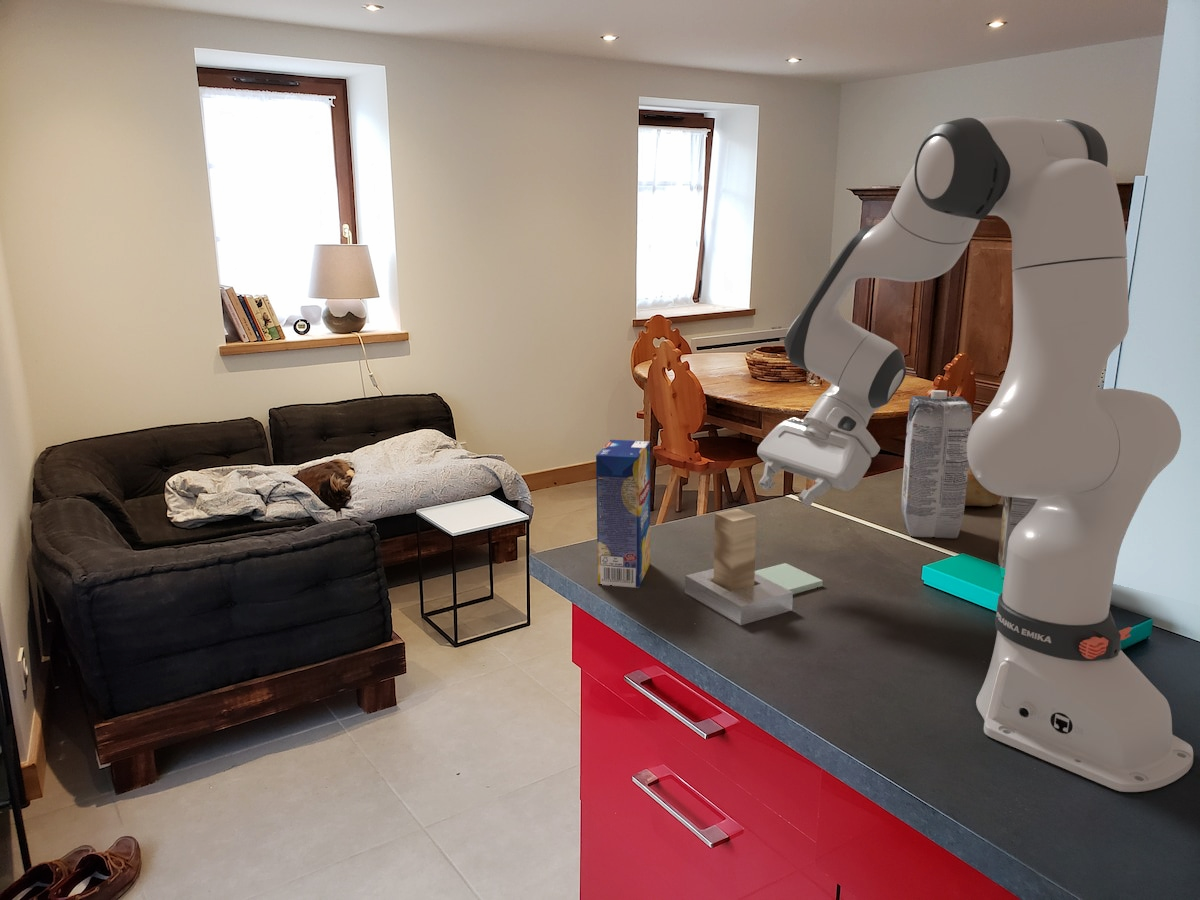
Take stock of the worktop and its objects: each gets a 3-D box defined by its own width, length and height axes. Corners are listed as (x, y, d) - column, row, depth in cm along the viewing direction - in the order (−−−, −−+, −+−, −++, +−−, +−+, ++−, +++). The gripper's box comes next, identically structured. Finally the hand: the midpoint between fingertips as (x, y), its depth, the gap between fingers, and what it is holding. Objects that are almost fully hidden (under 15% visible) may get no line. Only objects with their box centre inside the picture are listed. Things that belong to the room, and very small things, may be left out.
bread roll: (1005, 514, 179) (1009, 476, 177) (927, 511, 182) (930, 473, 180) (994, 500, 188) (998, 463, 186) (920, 497, 191) (923, 461, 189)
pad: (822, 586, 145) (822, 580, 145) (780, 598, 141) (780, 592, 140) (785, 568, 152) (785, 563, 152) (743, 579, 148) (743, 573, 148)
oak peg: (753, 601, 140) (756, 516, 136) (730, 607, 137) (733, 521, 134) (735, 591, 143) (737, 508, 140) (713, 597, 141) (714, 513, 138)
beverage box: (650, 563, 156) (650, 441, 150) (638, 588, 145) (638, 457, 140) (611, 560, 157) (610, 439, 152) (597, 584, 147) (595, 455, 141)
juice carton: (964, 541, 164) (978, 397, 157) (905, 539, 166) (916, 396, 159) (953, 525, 173) (966, 388, 166) (897, 523, 174) (907, 387, 168)
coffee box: (996, 559, 155) (1005, 470, 151) (1036, 563, 153) (1046, 473, 149) (1000, 579, 147) (1010, 485, 143) (1043, 583, 145) (1054, 488, 141)
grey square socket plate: (792, 610, 136) (792, 592, 135) (740, 625, 131) (740, 606, 130) (734, 580, 148) (735, 563, 147) (685, 592, 143) (685, 575, 142)
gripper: (778, 404, 150) (730, 468, 148) (869, 427, 133) (817, 500, 131) (797, 426, 154) (751, 489, 151) (888, 451, 136) (838, 523, 134)
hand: (782, 494), depth 141 cm, fingers open, 8 cm apart
